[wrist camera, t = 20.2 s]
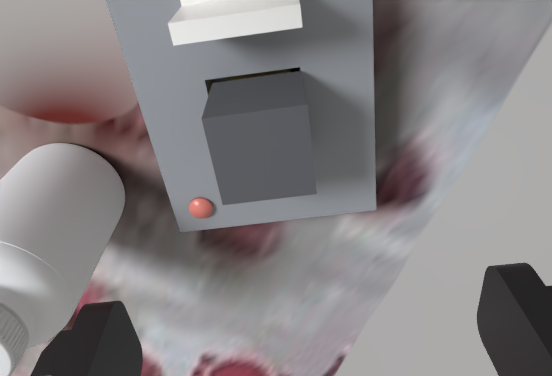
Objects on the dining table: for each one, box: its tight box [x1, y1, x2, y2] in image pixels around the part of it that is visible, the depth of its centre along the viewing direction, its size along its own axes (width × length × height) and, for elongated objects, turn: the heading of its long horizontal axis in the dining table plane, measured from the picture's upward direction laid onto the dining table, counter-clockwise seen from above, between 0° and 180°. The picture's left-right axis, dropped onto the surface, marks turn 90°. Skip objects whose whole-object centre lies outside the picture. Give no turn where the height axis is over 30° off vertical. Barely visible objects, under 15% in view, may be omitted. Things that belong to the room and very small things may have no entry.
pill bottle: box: [0, 143, 125, 376], centre depth 28 cm, size 8×8×15 cm
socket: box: [106, 0, 376, 233], centre depth 29 cm, size 14×16×4 cm
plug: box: [201, 68, 317, 205], centre depth 27 cm, size 5×5×8 cm
